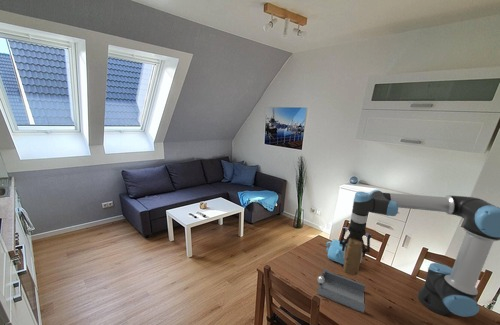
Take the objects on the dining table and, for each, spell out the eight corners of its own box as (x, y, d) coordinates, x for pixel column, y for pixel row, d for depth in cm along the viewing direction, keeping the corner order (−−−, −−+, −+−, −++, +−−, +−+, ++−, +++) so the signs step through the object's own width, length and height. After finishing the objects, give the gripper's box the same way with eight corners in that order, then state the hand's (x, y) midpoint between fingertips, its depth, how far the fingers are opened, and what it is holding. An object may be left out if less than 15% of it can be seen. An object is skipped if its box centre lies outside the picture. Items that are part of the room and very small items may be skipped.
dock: (363, 291, 124) (366, 276, 122) (363, 313, 109) (366, 297, 107) (320, 274, 135) (322, 261, 133) (315, 293, 120) (317, 278, 118)
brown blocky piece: (357, 278, 111) (363, 244, 107) (342, 273, 114) (347, 240, 110) (357, 266, 121) (363, 235, 117) (343, 262, 124) (348, 231, 120)
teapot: (332, 267, 143) (335, 249, 141) (322, 252, 159) (324, 236, 157) (357, 267, 145) (360, 249, 142) (345, 252, 161) (348, 236, 158)
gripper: (380, 223, 110) (372, 261, 115) (338, 213, 119) (333, 249, 124) (381, 229, 104) (373, 269, 108) (337, 218, 113) (331, 256, 117)
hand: (352, 258), depth 116 cm, fingers closed on brown blocky piece, 7 cm apart
